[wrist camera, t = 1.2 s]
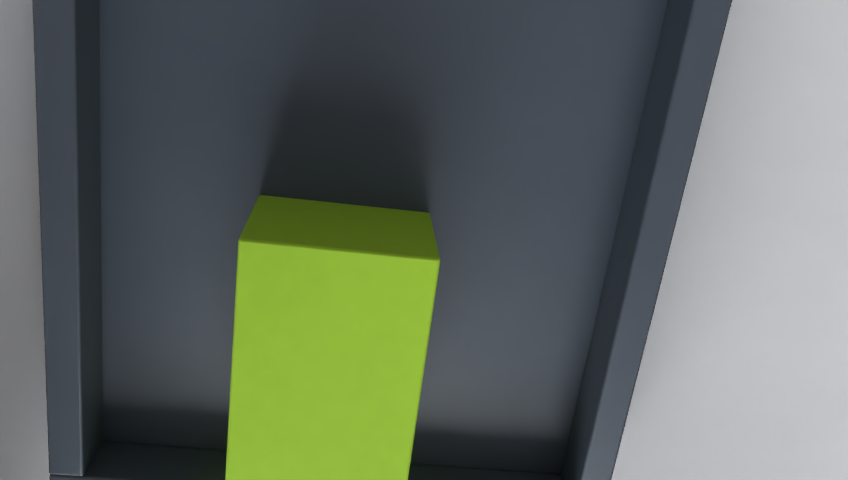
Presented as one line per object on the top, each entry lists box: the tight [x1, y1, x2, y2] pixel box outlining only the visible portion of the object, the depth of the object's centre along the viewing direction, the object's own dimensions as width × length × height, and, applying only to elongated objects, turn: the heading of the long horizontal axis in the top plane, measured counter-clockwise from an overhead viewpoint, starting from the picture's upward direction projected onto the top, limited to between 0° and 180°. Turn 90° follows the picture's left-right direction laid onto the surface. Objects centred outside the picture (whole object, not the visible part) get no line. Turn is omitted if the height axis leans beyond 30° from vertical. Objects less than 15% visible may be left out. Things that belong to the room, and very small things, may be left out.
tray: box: [33, 0, 732, 480], centre depth 17 cm, size 20×14×2 cm
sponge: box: [225, 195, 440, 480], centre depth 18 cm, size 6×4×3 cm, turn 172°
